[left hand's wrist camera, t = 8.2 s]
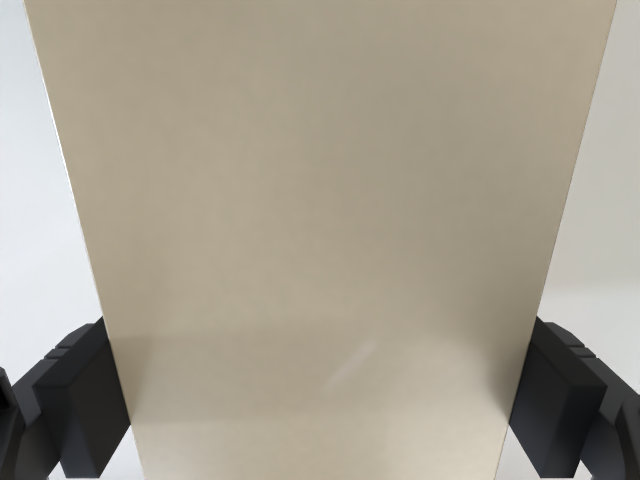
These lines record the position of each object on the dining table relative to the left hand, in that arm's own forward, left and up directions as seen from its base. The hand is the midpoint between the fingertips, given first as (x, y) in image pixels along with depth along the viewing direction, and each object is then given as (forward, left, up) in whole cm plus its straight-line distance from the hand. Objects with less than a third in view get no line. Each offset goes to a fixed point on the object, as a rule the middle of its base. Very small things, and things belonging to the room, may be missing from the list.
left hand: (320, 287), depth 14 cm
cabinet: (+6, -1, -6) cm, 8 cm away
